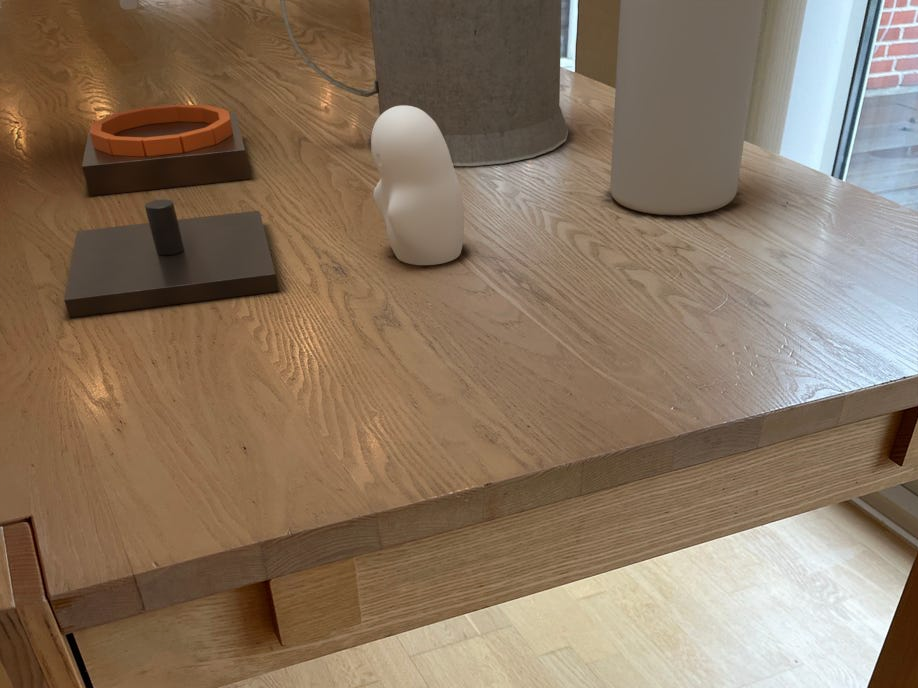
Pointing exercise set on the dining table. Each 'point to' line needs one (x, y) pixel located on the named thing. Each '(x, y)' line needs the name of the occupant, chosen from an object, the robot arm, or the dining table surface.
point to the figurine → (417, 187)
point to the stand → (165, 162)
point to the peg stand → (168, 262)
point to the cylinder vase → (682, 102)
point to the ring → (161, 145)
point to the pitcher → (470, 72)
